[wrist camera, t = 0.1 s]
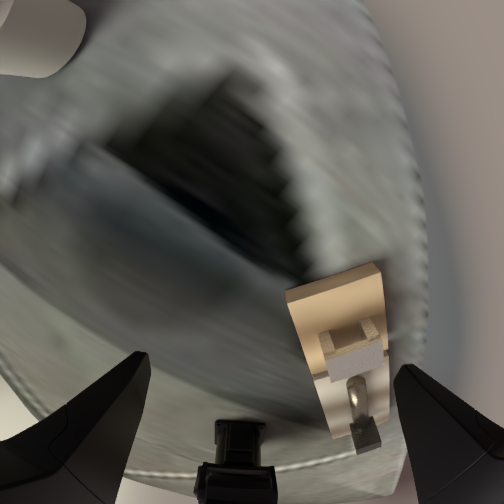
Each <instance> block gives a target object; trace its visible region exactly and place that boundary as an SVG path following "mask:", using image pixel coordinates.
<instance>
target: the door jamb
mask: <svg viewBox="0 0 504 504" xmlns="http://www.w3.org/2000/svg"><path fill="white" fill-rule="evenodd" d="M285 294H286V300H287V304H288V307H289V310H290V313H291V316H292V319H293V322H294V324H295V327H296V330H297V333H298V336H299V339H300V342H301V345H302V348H303V351H304V354H305V357H306V360H307V362H308V365H309V368H310V371H311V374H312V375H313V380H314V383H315V386H316V389H317V392H318V395H319V398H320V401H321V404H322V407H323V411H324V414H325V417H326V420H327V423H328V426H329V429H330V432H331V435H332V438H333V439H335V438H339V437H342V436H345V435H349V434H351V430H350V426H349V424H350V423H353V418H352V413H351V407H350V402H349V397H348V392H347V387H346V383H347V381H348V379H349V378H351V377H349V378H346V379H343V380H340V381H336V382H333V383H331V381H330V377H329V374H328V370H327V367H326V363H325V359H324V356H323V352H322V349H321V345H320V342H319V338H318V335H317V334H319V333H322V332H325V331H329V334H330V337H331V340H332V343H333V345H334V348H335V350H337V349H340V348H343V347H346V346H349V345H352V344H355V343H357V342H360V341H362V339H361V332H360V326H359V320H361V319H363V318H366V317H370V319H371V321H372V323H373V324H374V326H375V328H376V330H377V331H378V333H379V335H380V337H381V339H382V341H383V354H384V365H382V366H379V367H377V368H374V369H371V370H369V371H366V372H363V373H360V374H358V375H359V376H362V377H364V378H365V380H366V388H367V397H368V408H369V417H371V416H373V418H374V421H375V424H376V425H378V424H381V423H384V422H386V421H389V399H390V387H389V355H388V353H387V351H386V349H388V336H387V323H386V312H385V302H384V293H383V285H382V277H381V272H380V271H379V269H378V268H377V267H376V266H375V265H374V263H373V262H370V263H367V264H365V265H362V266H359V267H356V268H353V269H350V270H347V271H344V272H341V273H339V274H336V275H333V276H330V277H327V278H324V279H321V280H317V281H314V282H311V283H308V284H305V285H302V286H299V287H296V288H293V289H289V290H286V291H285ZM355 376H357V375H355ZM352 377H353V376H352Z"/></svg>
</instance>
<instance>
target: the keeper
mask: <svg viewBox="0 0 504 504" xmlns="http://www.w3.org/2000/svg"><path fill="white" fill-rule="evenodd" d="M359 326H360V332H361V339H362V341H360V342H357V343H355V344H352V345H349V346H346V347H343V348H340V349H337V350H335V348H334V345H333V343H332V340H331V337H330V334H329V331H325V332H322V333H319V334H317V335H318V338H319V342H320V345H321V349H322V352H323V356H324V359H325V363H326V367H327V370H328V374H329V377H330V381H331V383H333V382H336V381H340V380H343V379H346V378H349V377H352V376H355V375H358V374H360V373H363V372H366V371H369V370H371V369H374V368H377V367H379V366H382V365H384V354H383V341H382V339H381V337H380V335H379V333H378V331H377V330H376V328H375V326H374V324H373V323H372V321H371V319H370V317H366V318H363V319H361V320H359Z"/></svg>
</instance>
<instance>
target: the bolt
mask: <svg viewBox="0 0 504 504" xmlns="http://www.w3.org/2000/svg"><path fill="white" fill-rule="evenodd" d="M346 387H347V392H348V397H349V402H350V407H351V413H352V418H353V423H350V424H349V426H350V430H351V434H352V438H353V442H354V446H355V449H356V453H357V455H358V454H361V453H364V452H367V451H370V450H373V449H376V448H379V447H381V439H380V436H379V433H378V430H377V427H376V424H375V421H374V418H373V416H371V417H369V408H368V397H367V388H366V380H365V378H364V377H362V376H359V375H357V376H353V377H351V378H349V379H348V381H347V383H346Z"/></svg>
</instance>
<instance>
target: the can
mask: <svg viewBox="0 0 504 504" xmlns="http://www.w3.org/2000/svg"><path fill="white" fill-rule="evenodd" d="M85 30H86V16H85V13H84V11H83V10H82V9H81V8H80V7H79V6H77V5H76V4H74V3H72V2H70V1H69V0H0V74H8V75H18V76H26V77H34V78H43V77H48V76H50V75H52V74H54V73H56V72H57V71H58V70H59V69H61V68H62V67H63V66H64V65H66V63H67V62H68V61H69V60H70V59H71V57H72V56H73V55H74V54H75V52H76V50H77V48H78V47H79V45H80V43H81V41H82V38H83V36H84V33H85Z"/></svg>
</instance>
